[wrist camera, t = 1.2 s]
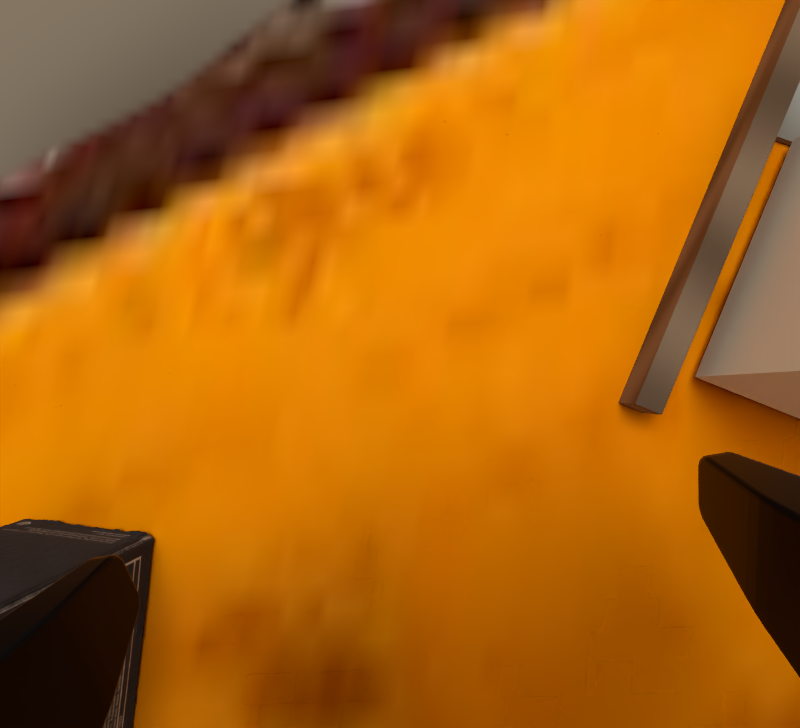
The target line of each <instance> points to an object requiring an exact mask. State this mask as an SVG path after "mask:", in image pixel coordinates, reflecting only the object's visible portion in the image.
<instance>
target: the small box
mask: <svg viewBox="0 0 800 728" xmlns="http://www.w3.org/2000/svg"><path fill="white" fill-rule="evenodd" d="M152 544H153V538H152V537H151V536H150V535H149V534H147V533H146V532H140V531H129V532H124V531H120V530H119V529H115V530H110V529H101V528H97V527H94V528H93V527H86V526H81V525H79V524H78V525H71V524H64V523H62V522H60V521H53V520H50V521H48V520H31V519H23V520H20V521H18V522H15V523H12V524H9V525H5V526H2V527H0V619H2V618H3V617H5V616H6V615H8V614H9V613H11V612H12V611H14V610H15V609H17V608H18V607H19V606H21V605H22V604H24V603H25V602H27V601H28V600H30V599H31V598H33V597H34V596H36V595H37V594H39V593H40V592H42V591H43V590H45V589H46V588H48V587H49V586H50V585H52V584H53V583H55V582H56V581H58V580H59V579H61V578H62V577H64V576H65V575H67V574H68V573H70V572H71V571H73V570H74V569H76V568H77V567H79V566H80V565H82V564H83V563H84V562H86V561H87V560H89V559H92V558H96V557H102V556H108V555H117V556H119V557H120V558H122V560H123V561H124V563H125V565H126V567H127V569H128V572H129V574H130V576H131V578H132V580H133V582H134V584H135V586H136V588H137V591H138V593H139V597H140V608H139V613H138V616H137V619H136V623H135V626H134V630H133V633H132V637H131V640H130V644H129V647H128V650H127V654H126V657H125V661H124V664H123V668H122V671H121V675H120V678H119V682H118V685H117V688H116V692H115V695H114V698H113V701H112V704H111V707H110V710H109V713H108V715H107V718H106V721H105V724H104V726H103V728H132V724H133V715H134V706H135V697H136V688H137V680H138V670H139V661H140V653H141V644H142V635H143V627H144V617H145V609H146V600H147V592H148V582H149V572H150V562H151V552H152Z"/></svg>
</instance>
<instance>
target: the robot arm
mask: <svg viewBox="0 0 800 728" xmlns="http://www.w3.org/2000/svg"><path fill="white" fill-rule="evenodd" d="M698 484H699V509H700V512H701V515H702V518H703V520H704V522H705V524H706V526H707V527H708V529H709V531H710V533H711V535H712V536H713V538H714V540H715V542H716V544H717V545H718V547H719V549H720V551H721V553H722V555H723V556H724V558H725V560H726V562H727V564H728V565H729V567H730V569H731V571H732V573H733V575H734V576H735V578H736V580H737V582H738V584H739V585H740V587H741V589H742V591H743V593H744V595H745V596H746V598H747V600H748V601H749V603H750V605H751V607H752V608H753V610H754V612H755V613H756V615H757V616H758V618H759V619H760V621H761V622H762V624H763V625H764V627H765V628H766V630H767V631H768V633H769V634H770V636H771V637H772V638H773V640H774V641H775V643H776V644H777V646H778V647H779V649H780V650H781V651H782V653H783V654H784V656H785V657H786V659H787V660H788V661H789V663H790V664H791V666H792V667H793V669H794V670H795V671H796V673H797V674H798V676H799V677H800V476H798V475H795V474H792V473H789V472H786V471H783V470H781V469H778V468H775V467H772V466H769V465H766V464H764V463H761V462H758V461H755V460H752V459H749V458H746V457H744V456H741V455H738V454H735V453H732V452H725V453H719V454H713V455H707V456H703V457H702V458H701V459H700V462H699V466H698ZM139 608H140V597H139V593H138V591H137V588H136V586H135V584H134V582H133V580H132V578H131V576H130V574H129V572H128V569H127V567H126V565H125V563H124V561H123V560H122V558H120V557H119V556H117V555H108V556H102V557H96V558H92V559H89V560H87V561H86V562H84V563H83V564H82V565H80V566H79V567H77V568H76V569H74V570H73V571H71V572H70V573H68V574H67V575H65V576H64V577H62V578H61V579H59V580H58V581H56V582H55V583H53V584H52V585H50V586H49V587H48V588H46V589H45V590H43V591H42V592H40V593H39V594H37V595H36V596H34V597H33V598H31V599H30V600H28V601H27V602H25V603H24V604H22V605H21V606H19V607H18V608H17V609H15V610H14V611H12V612H11V613H9V614H8V615H6V616H5V617H3V618H2V619H0V728H103V726H104V724H105V721H106V718H107V715H108V713H109V710H110V707H111V704H112V701H113V698H114V695H115V692H116V688H117V685H118V682H119V678H120V675H121V671H122V668H123V664H124V661H125V657H126V654H127V650H128V647H129V644H130V640H131V637H132V633H133V630H134V626H135V623H136V619H137V616H138V613H139Z"/></svg>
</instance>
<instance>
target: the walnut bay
mask: <svg viewBox="0 0 800 728" xmlns="http://www.w3.org/2000/svg"><path fill="white" fill-rule="evenodd" d="M799 136H800V0H786V1H785V4H784V6H783V8H782V11H781V13H780V16H779V18H778V20H777V23H776V25H775V28H774V30H773V32H772V35H771V37H770V40H769V42H768V44H767V47H766V49H765V52H764V54H763V57H762V59H761V61H760V64H759V66H758V69H757V71H756V73H755V76H754V78H753V81H752V83H751V85H750V88H749V90H748V93H747V95H746V97H745V100H744V102H743V105H742V107H741V109H740V112H739V114H738V117H737V119H736V121H735V124H734V126H733V129H732V131H731V134H730V136H729V138H728V141H727V143H726V146H725V148H724V150H723V153H722V155H721V158H720V160H719V162H718V165H717V167H716V170H715V172H714V174H713V177H712V179H711V182H710V184H709V186H708V189H707V191H706V194H705V196H704V199H703V201H702V203H701V206H700V208H699V211H698V213H697V215H696V218H695V220H694V223H693V225H692V227H691V230H690V232H689V235H688V237H687V239H686V242H685V244H684V247H683V249H682V251H681V254H680V256H679V259H678V261H677V263H676V266H675V268H674V271H673V273H672V276H671V278H670V280H669V283H668V285H667V288H666V290H665V292H664V295H663V297H662V300H661V302H660V304H659V307H658V309H657V312H656V314H655V316H654V319H653V321H652V324H651V326H650V328H649V331H648V333H647V336H646V338H645V341H644V343H643V345H642V348H641V350H640V353H639V355H638V357H637V360H636V362H635V365H634V367H633V369H632V372H631V374H630V377H629V379H628V381H627V384H626V386H625V389H624V391H623V393H622V396H621V398H620V401H619V403H621V404H623V405H626V406H628V407H631V408H633V409H635V410H638V411H640V412H643V413H653V414H662V413H663V410H664V408H665V405H666V403H667V400H668V398H669V396H670V393H671V391H672V388H673V386H674V384H675V381H676V379H677V376H678V374H679V371H680V369H681V367H682V364H683V362H684V359H685V357H686V355H687V352H688V350H689V347H690V345H691V343H692V340H693V338H694V335H695V333H696V330H697V328H698V326H699V323H700V321H701V318H702V316H703V314H704V311H705V309H706V306H707V304H708V301H709V299H710V297H711V294H712V292H713V289H714V287H715V285H716V282H717V280H718V277H719V275H720V273H721V270H722V268H723V265H724V263H725V260H726V258H727V256H728V253H729V251H730V248H731V246H732V244H733V241H734V239H735V236H736V234H737V231H738V229H739V227H740V224H741V222H742V219H743V217H744V215H745V212H746V210H747V207H748V205H749V203H750V200H751V198H752V195H753V193H754V190H755V188H756V186H757V183H758V181H759V178H760V176H761V174H762V171H763V169H764V166H765V164H766V161H767V159H768V157H769V154H770V152H771V149H772V147H773V145H774V142H775V141H777V142H780V143H783V144H786V145H789V146H791V143H792V141H793V140H795V139H796V138H797V137H799Z"/></svg>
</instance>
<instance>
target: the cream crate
mask: <svg viewBox="0 0 800 728" xmlns="http://www.w3.org/2000/svg"><path fill="white" fill-rule="evenodd" d="M695 377H696V378H699V379H701V380H704V381H706V382H709V383H711V384H714V385H716V386H719V387H721V388H724V389H726V390H729V391H731V392H734V393H736V394H739V395H741V396H744V397H746V398H749V399H751V400H754V401H756V402H759V403H761V404H764V405H766V406H769V407H771V408H774V409H776V410H779V411H781V412H784V413H786V414H789V415H791V416H794V417H796V418H799V419H800V136H799V137H797V138H796V139H795V140H793V141H792V143H791V146H790V148H789V151H788V153H787V155H786V158H785V160H784V163H783V165H782V167H781V170H780V172H779V175H778V177H777V180H776V182H775V184H774V187H773V189H772V192H771V194H770V196H769V199H768V201H767V204H766V206H765V209H764V211H763V213H762V216H761V218H760V221H759V223H758V225H757V228H756V230H755V233H754V235H753V238H752V240H751V242H750V245H749V247H748V250H747V252H746V254H745V257H744V259H743V262H742V264H741V267H740V269H739V271H738V274H737V276H736V279H735V281H734V283H733V286H732V288H731V291H730V293H729V296H728V298H727V300H726V303H725V305H724V308H723V310H722V312H721V315H720V317H719V320H718V322H717V325H716V327H715V329H714V332H713V334H712V337H711V339H710V341H709V344H708V346H707V349H706V351H705V354H704V356H703V358H702V361H701V363H700V366H699V368H698V370H697V373H696V375H695Z"/></svg>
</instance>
